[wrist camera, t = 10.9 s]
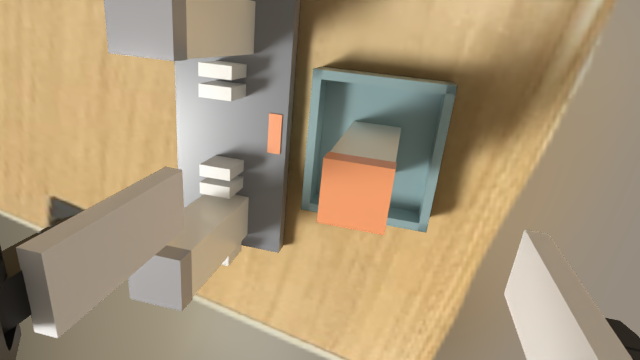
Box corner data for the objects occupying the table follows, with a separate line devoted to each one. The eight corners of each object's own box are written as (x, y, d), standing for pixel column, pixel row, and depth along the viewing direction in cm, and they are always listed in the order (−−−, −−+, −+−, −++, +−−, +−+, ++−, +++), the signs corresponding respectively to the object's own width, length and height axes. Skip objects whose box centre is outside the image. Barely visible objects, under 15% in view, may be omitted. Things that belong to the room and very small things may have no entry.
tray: (321, 66, 28) (313, 68, 26) (453, 82, 27) (457, 85, 24) (309, 197, 32) (301, 209, 29) (425, 218, 30) (426, 232, 28)
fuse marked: (353, 120, 28) (323, 158, 19) (402, 127, 28) (395, 169, 19) (347, 166, 30) (316, 222, 20) (394, 173, 29) (384, 235, 20)
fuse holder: (181, -30, 28) (149, -40, 25) (301, -20, 27) (285, -29, 23) (187, 231, 36) (163, 251, 32) (282, 251, 34) (267, 274, 31)
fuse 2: (209, 189, 32) (125, 248, 23) (249, 196, 32) (180, 260, 22) (209, 227, 33) (130, 298, 24) (247, 235, 33) (181, 311, 24)
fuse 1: (208, -4, 27) (101, -28, 18) (256, 0, 27) (171, -22, 17) (208, 49, 28) (108, 53, 19) (254, 54, 28) (173, 61, 19)
